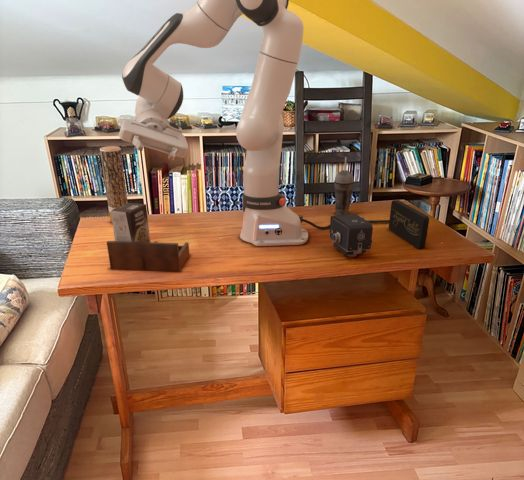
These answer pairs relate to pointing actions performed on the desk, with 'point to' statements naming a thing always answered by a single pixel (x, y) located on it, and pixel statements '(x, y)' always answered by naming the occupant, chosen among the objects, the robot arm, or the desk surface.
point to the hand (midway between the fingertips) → (156, 153)
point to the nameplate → (408, 223)
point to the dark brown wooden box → (147, 255)
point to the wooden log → (113, 177)
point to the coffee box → (131, 223)
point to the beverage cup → (343, 190)
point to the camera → (351, 233)
